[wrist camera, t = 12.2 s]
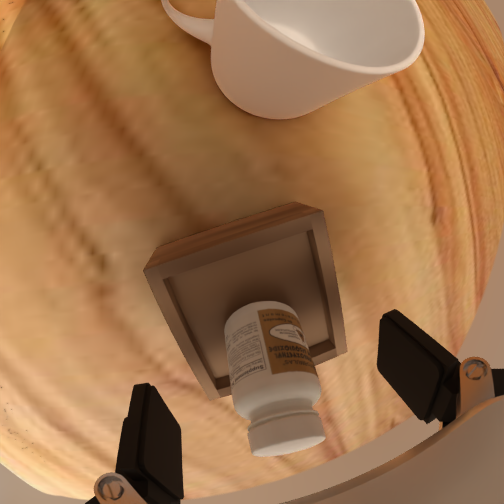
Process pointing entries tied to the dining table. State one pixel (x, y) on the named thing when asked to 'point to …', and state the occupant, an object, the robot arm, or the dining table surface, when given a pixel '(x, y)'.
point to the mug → (304, 49)
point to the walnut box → (248, 285)
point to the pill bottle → (273, 378)
